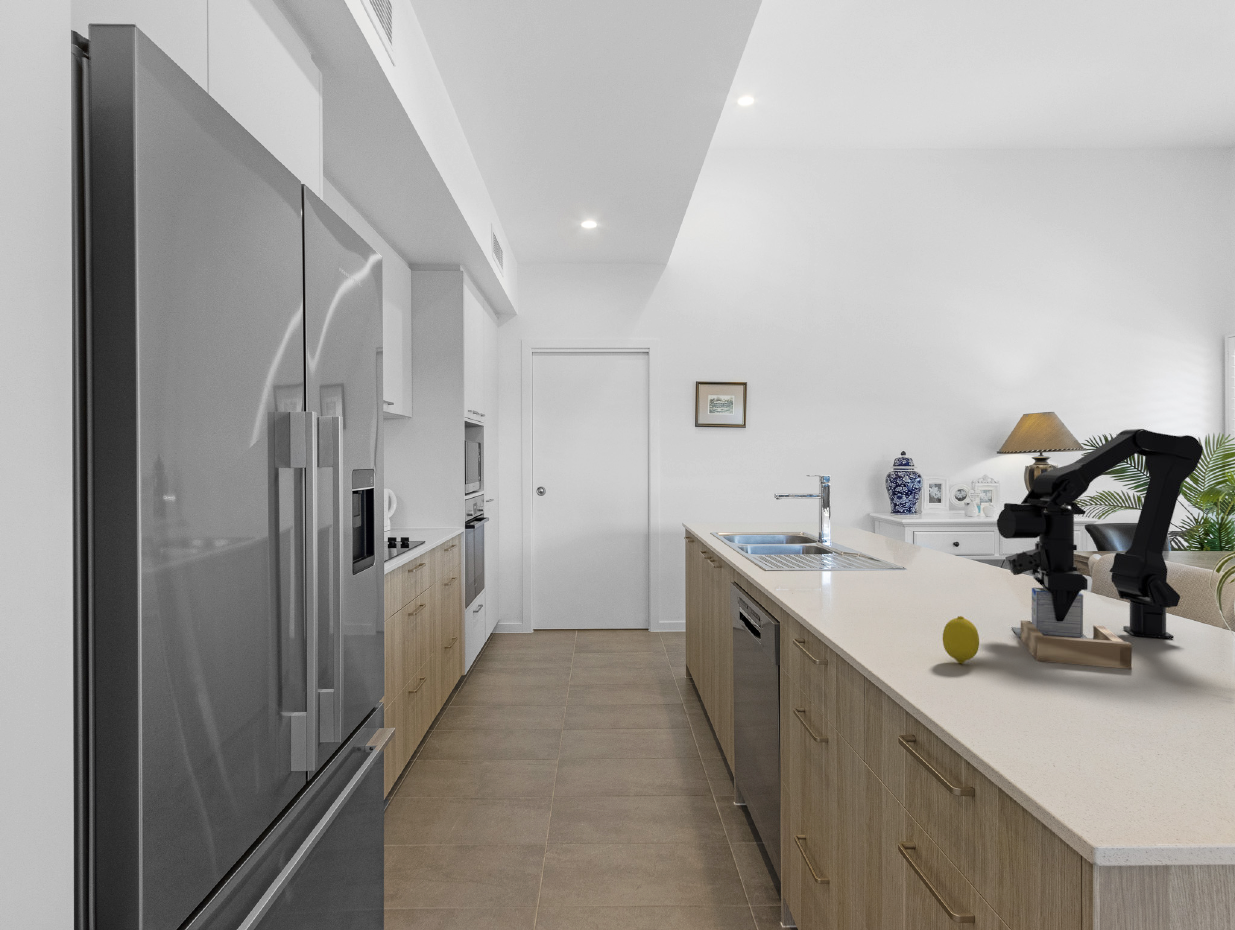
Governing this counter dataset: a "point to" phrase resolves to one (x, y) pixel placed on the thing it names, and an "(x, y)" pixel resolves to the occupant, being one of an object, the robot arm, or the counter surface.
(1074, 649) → the dispenser rack
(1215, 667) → the counter surface
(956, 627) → the lemon
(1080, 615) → the medicine box
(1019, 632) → the mat
